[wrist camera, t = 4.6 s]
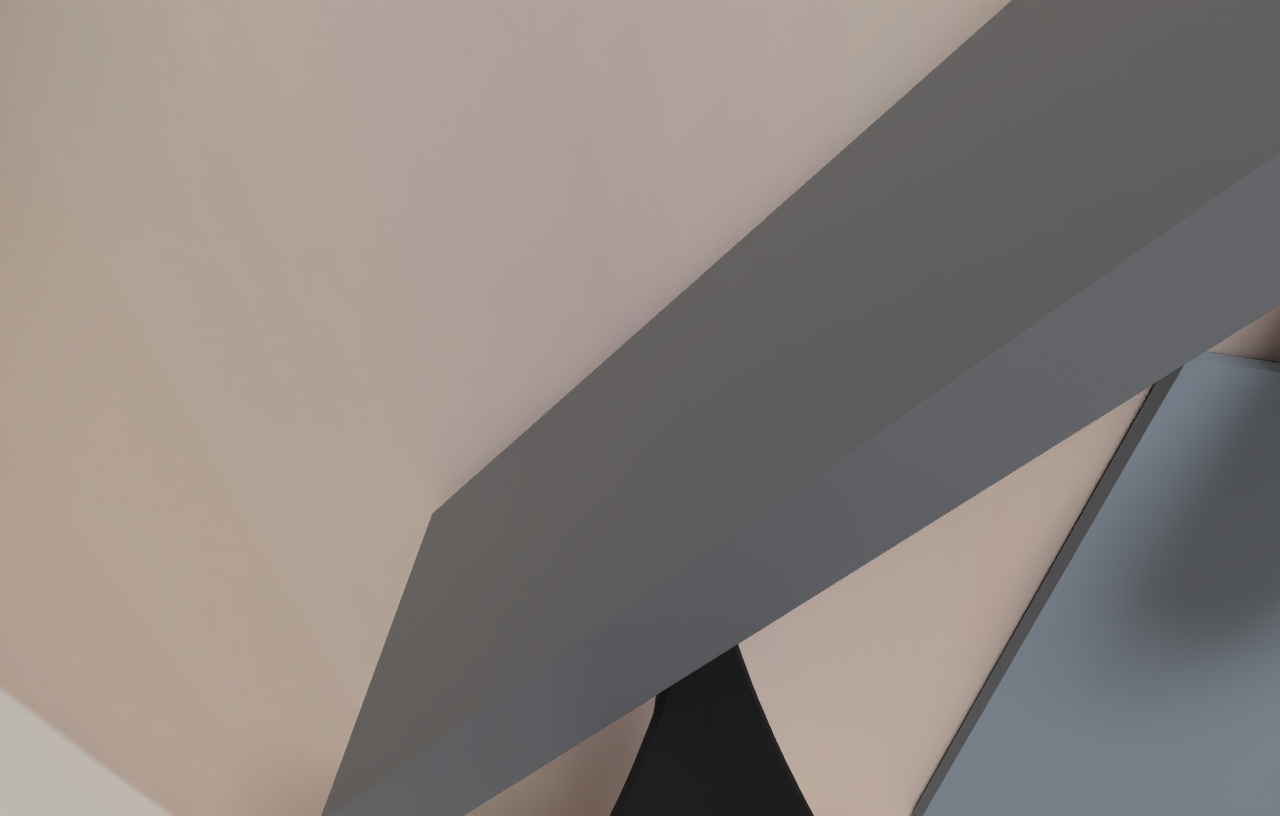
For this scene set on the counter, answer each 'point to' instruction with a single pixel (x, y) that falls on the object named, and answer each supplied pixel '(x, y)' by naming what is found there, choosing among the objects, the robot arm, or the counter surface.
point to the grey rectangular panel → (841, 381)
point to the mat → (1148, 628)
